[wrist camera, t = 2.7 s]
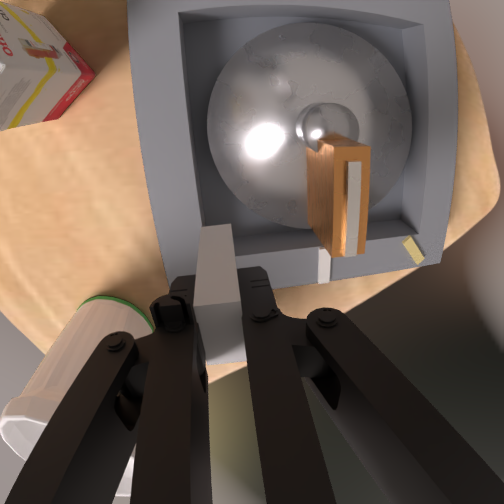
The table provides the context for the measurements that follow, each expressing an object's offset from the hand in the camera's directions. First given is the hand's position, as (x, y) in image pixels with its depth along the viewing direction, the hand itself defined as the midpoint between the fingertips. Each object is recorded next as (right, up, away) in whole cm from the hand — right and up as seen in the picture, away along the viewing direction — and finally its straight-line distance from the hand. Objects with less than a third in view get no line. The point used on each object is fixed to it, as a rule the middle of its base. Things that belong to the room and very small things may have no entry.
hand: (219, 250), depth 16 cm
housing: (+5, +9, +6) cm, 12 cm away
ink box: (-14, +14, +1) cm, 20 cm away
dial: (+6, +9, +4) cm, 11 cm away
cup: (-12, -8, +13) cm, 19 cm away
